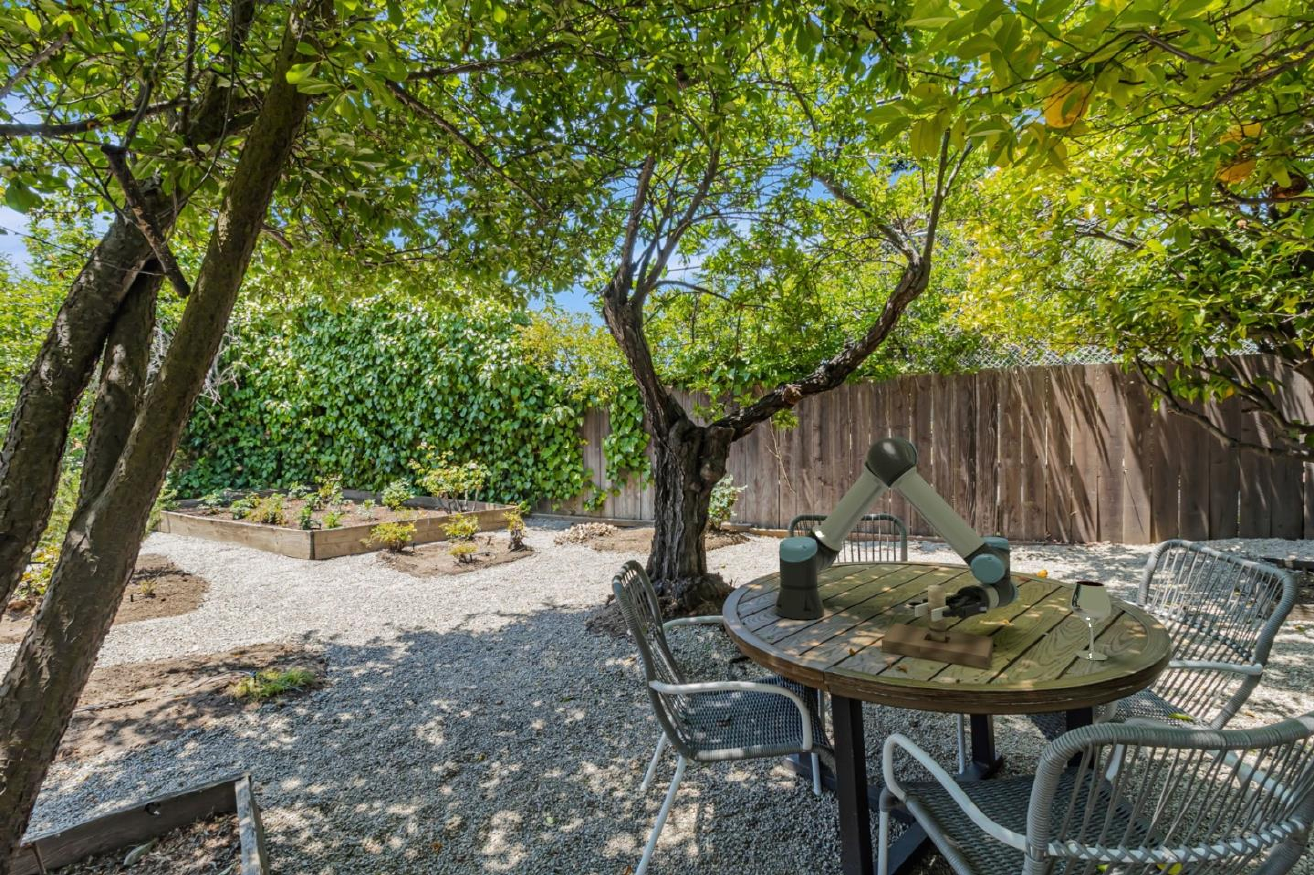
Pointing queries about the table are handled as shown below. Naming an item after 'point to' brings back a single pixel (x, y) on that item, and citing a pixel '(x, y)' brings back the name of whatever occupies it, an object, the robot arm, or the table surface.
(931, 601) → the peg
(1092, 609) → the wineglass
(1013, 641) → the table surface
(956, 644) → the board
